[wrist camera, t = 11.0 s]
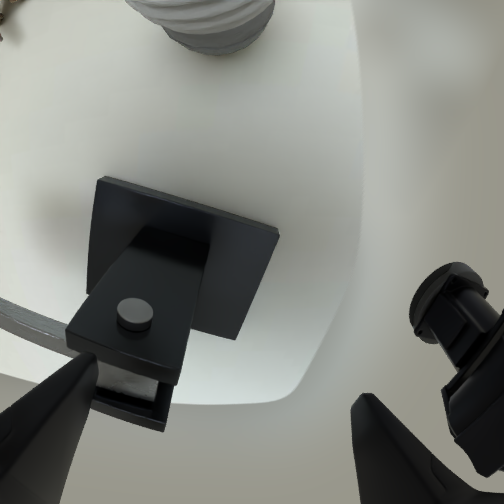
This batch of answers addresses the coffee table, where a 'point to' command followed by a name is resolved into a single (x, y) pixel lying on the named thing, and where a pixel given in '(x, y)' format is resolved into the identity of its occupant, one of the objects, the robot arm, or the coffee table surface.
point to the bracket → (162, 287)
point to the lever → (54, 339)
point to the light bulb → (209, 22)
